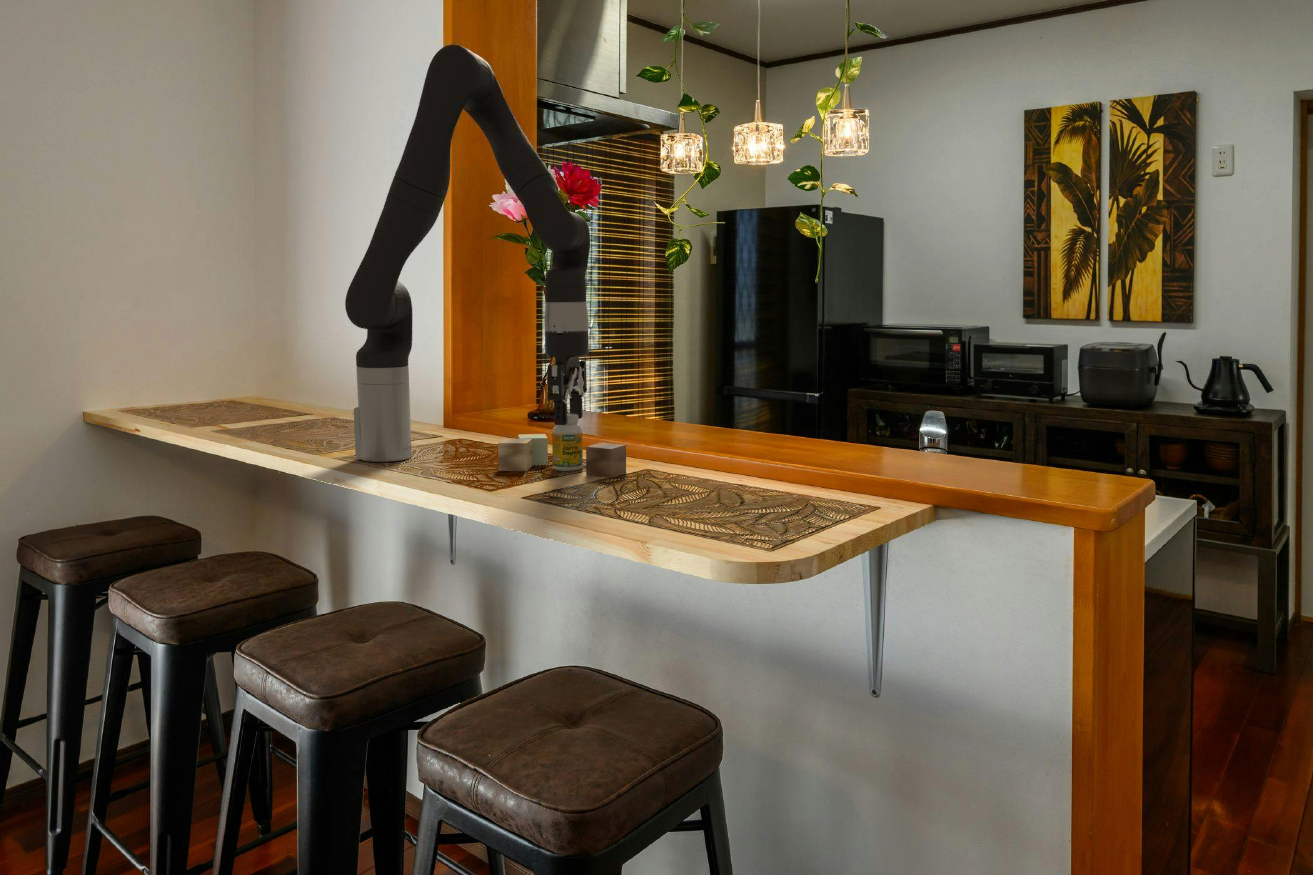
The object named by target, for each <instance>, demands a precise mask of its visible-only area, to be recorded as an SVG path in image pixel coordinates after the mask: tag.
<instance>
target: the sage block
mask: <svg viewBox="0 0 1313 875" xmlns="http://www.w3.org/2000/svg"><path fill="white" fill-rule="evenodd" d="M517 439H532V466H547V465H549V449H548V448H549V440H548V436H547V435H546V433H535V434H534V433H530V434H529V433H527V434H526V433H525V434H518V435H517Z"/></svg>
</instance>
